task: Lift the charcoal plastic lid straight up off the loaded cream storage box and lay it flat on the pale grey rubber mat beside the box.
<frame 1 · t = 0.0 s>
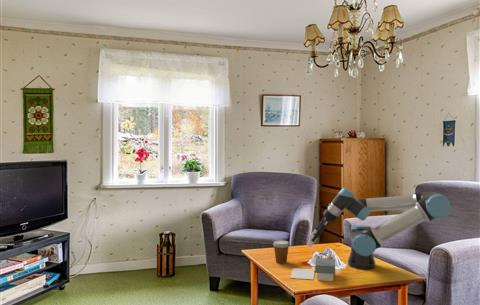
hand: (309, 242, 227), 15 cm above the table, tool tilted 35°, fingers open, 13 cm apart
storage box: (325, 276, 215), on the table
mat: (302, 274, 220), on the table
lid: (325, 269, 215), point 4 cm above the table, touching storage box
disposable coffee cup: (281, 262, 241), on the table
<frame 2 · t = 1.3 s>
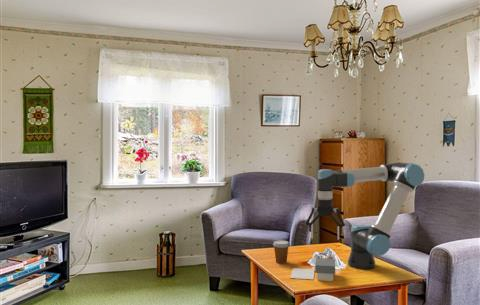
hand: (325, 238, 214), 20 cm above the table, tool pointing down, fingers open, 13 cm apart
nothing on the table moved.
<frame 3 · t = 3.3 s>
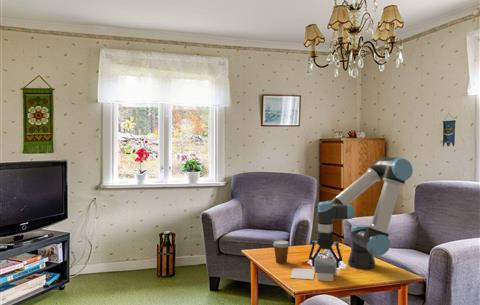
hand: (325, 273, 215), 2 cm above the table, tool pointing down, fingers closed on lid, 10 cm apart
lid: (325, 269, 215), point 4 cm above the table, touching gripper, storage box
everything else where it was.
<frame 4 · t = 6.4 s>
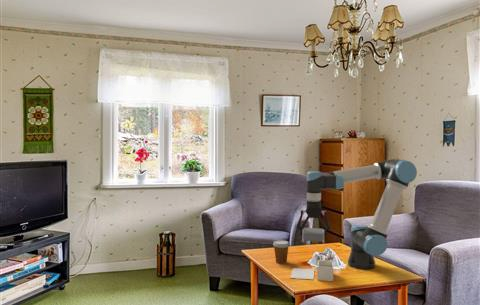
hand: (313, 241, 216), 18 cm above the table, tool pointing down, fingers closed on lid, 10 cm apart
lid: (313, 238, 216), point 20 cm above the table, touching gripper
everything else where it was.
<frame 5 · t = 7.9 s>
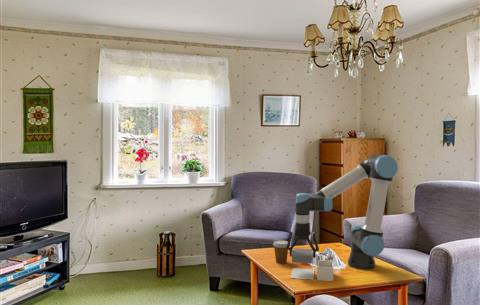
hand: (302, 262, 219), 6 cm above the table, tool pointing down, fingers closed on lid, 10 cm apart
lid: (302, 259, 219), point 8 cm above the table, touching gripper
everything else where it was.
when the fingers open (2 cm above the table, at t = 9.4 s): lid drops 3 cm, resting on mat.
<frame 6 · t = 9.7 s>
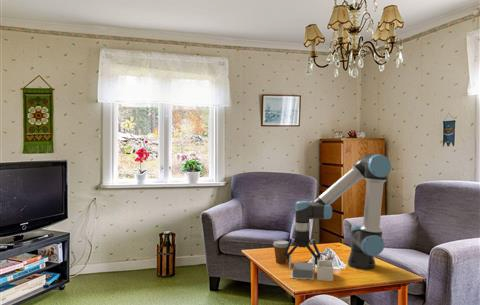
hand: (302, 269, 220), 3 cm above the table, tool pointing down, fingers open, 12 cm apart
lid: (303, 273, 220), resting on mat
everything else where it was.
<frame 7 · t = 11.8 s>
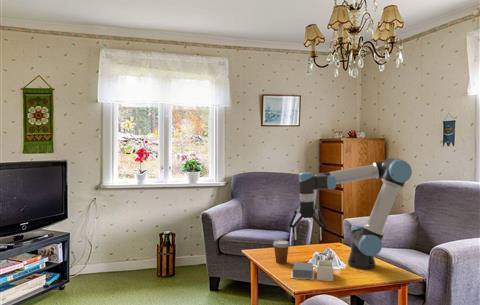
hand: (308, 239, 221), 18 cm above the table, tool pointing down, fingers open, 13 cm apart
nothing on the table moved.
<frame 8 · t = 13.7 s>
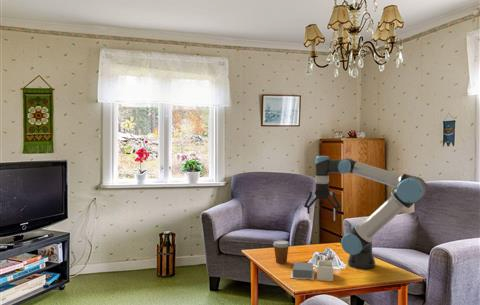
hand: (322, 219, 232), 27 cm above the table, tool pointing down, fingers open, 13 cm apart
nothing on the table moved.
at the end: lid 0.1 cm off-centre on the mat, point 0.4 cm above the mat's base; lid tilted 0°; the gripper is holding nothing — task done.
